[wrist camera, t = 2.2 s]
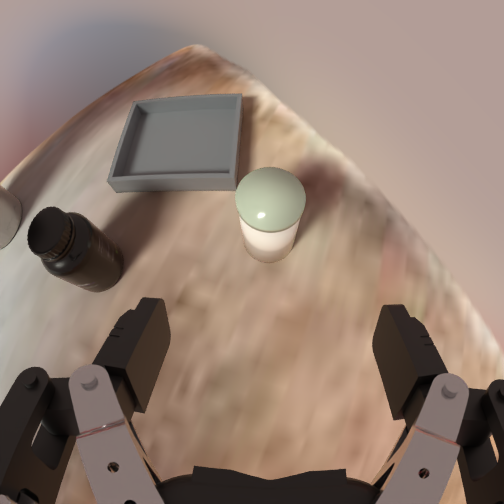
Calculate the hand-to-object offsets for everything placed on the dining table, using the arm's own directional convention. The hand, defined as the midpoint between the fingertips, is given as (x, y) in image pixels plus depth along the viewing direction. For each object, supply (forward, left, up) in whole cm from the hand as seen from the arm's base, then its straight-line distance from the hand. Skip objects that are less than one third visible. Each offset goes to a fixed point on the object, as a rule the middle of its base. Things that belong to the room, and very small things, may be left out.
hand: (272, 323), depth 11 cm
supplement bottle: (-20, +7, -22) cm, 30 cm away
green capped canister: (0, +11, -21) cm, 24 cm away
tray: (-12, +24, -21) cm, 34 cm away
